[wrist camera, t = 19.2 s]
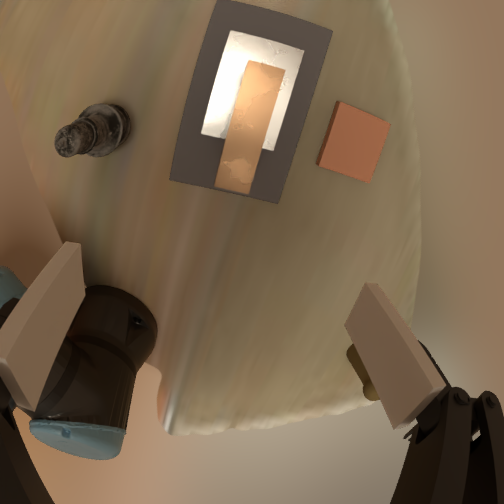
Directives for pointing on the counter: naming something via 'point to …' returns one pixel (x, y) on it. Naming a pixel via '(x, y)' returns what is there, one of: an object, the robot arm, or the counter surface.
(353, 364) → the cork
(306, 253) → the counter surface
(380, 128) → the tile
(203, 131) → the trowel
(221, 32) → the mat
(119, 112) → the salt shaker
